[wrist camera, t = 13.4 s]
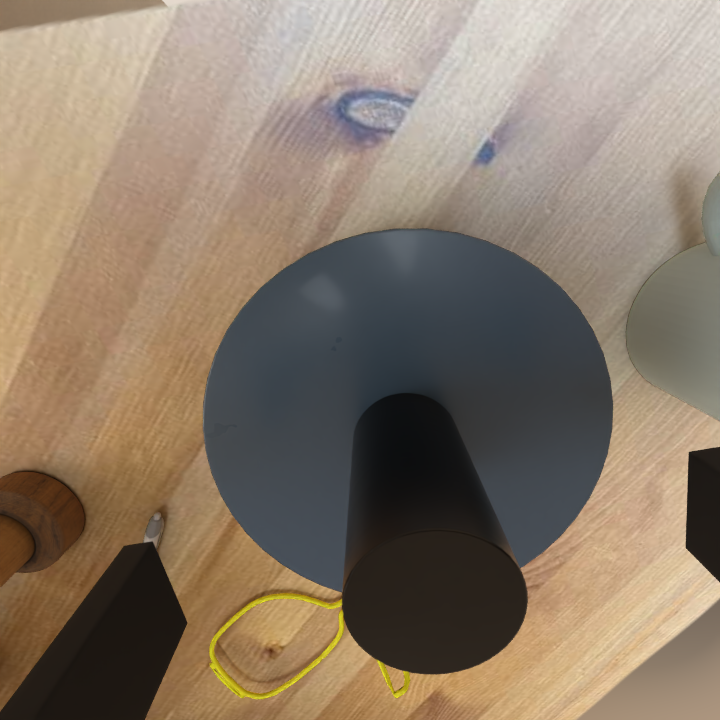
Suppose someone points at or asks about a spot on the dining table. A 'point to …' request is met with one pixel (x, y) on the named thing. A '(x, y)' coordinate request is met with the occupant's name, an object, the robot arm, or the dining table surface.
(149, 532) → the pen
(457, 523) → the lid
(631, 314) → the mug
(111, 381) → the dining table surface
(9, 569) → the mortar and pestle
